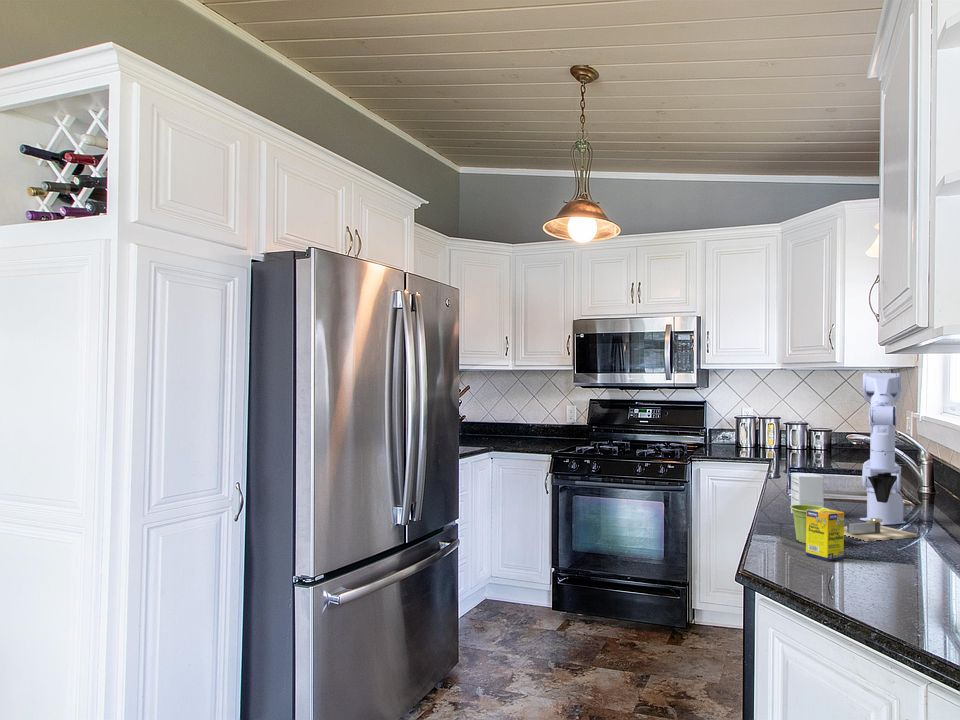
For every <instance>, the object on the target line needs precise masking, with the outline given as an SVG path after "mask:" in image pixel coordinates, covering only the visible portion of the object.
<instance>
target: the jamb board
mask: <svg viewBox="0 0 960 720" xmlns="http://www.w3.org/2000/svg"><path fill="white" fill-rule="evenodd" d="M850 523H859V522H857V521H853V522H850V521H849V522H847V523H846V526H844V535H846V536H845V537H848V536H850V537H849V538H852V537H854V538H853V539H855V538H858V539H857V540H859V539H861V540H860V541H863V540H864V542H867V541H872V542H877V541H876V540H882V541H891V540H890V539H893V540H903V539H912V538H913V537H914V538H918V533H914V532H910V531H905V530H902V529H901V530H900V529H897V528H893V527H888V526H885V525H881V524H880V522H877V523H875V532H871V533H860V534H852V533H849V524H850Z"/></svg>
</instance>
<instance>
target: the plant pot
mask: <svg viewBox="0 0 960 720" xmlns="http://www.w3.org/2000/svg"><path fill="white" fill-rule="evenodd" d="M821 508H825V509H829V508H827V507H820V506H813V505H792V506H791V505H790V510H791V509H792V513H793V514H792V513H791V514H792V515H793V523H794V531H795V537H796V541H798V542H799V543H801V542H802V544H806V510H807V509H809V510H811V509H821Z"/></svg>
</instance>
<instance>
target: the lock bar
mask: <svg viewBox="0 0 960 720" xmlns="http://www.w3.org/2000/svg"><path fill="white" fill-rule="evenodd" d="M877 522H882V519H880V518H871V520H866V521H864V522H858V523H850V524H849V533H852V534H860V533H871V532H875V523H877Z"/></svg>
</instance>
